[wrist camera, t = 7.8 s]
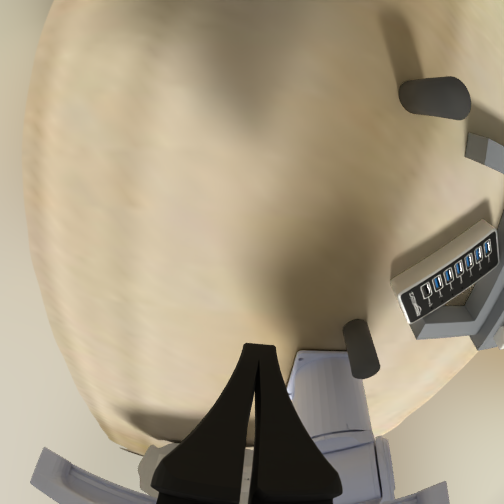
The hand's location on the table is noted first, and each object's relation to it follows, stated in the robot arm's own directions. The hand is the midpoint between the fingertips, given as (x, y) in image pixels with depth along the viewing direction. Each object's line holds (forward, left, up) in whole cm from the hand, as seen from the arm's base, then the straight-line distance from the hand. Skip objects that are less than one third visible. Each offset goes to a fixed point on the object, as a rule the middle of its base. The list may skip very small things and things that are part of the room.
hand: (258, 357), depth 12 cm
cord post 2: (+13, -9, -9) cm, 18 cm away
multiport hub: (0, -16, -10) cm, 19 cm away
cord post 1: (-7, -9, -9) cm, 15 cm away
